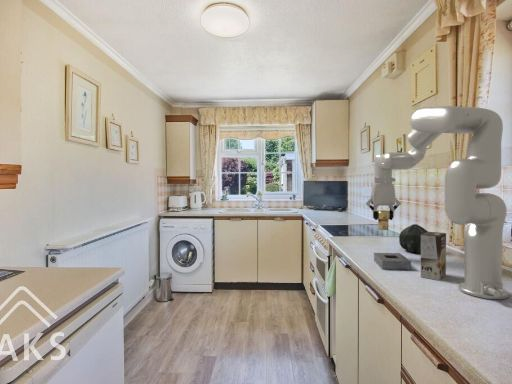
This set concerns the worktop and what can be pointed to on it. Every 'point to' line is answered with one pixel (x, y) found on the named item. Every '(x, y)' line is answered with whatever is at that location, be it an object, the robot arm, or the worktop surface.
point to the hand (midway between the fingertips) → (383, 219)
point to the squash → (412, 238)
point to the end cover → (383, 219)
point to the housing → (392, 261)
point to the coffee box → (433, 255)
